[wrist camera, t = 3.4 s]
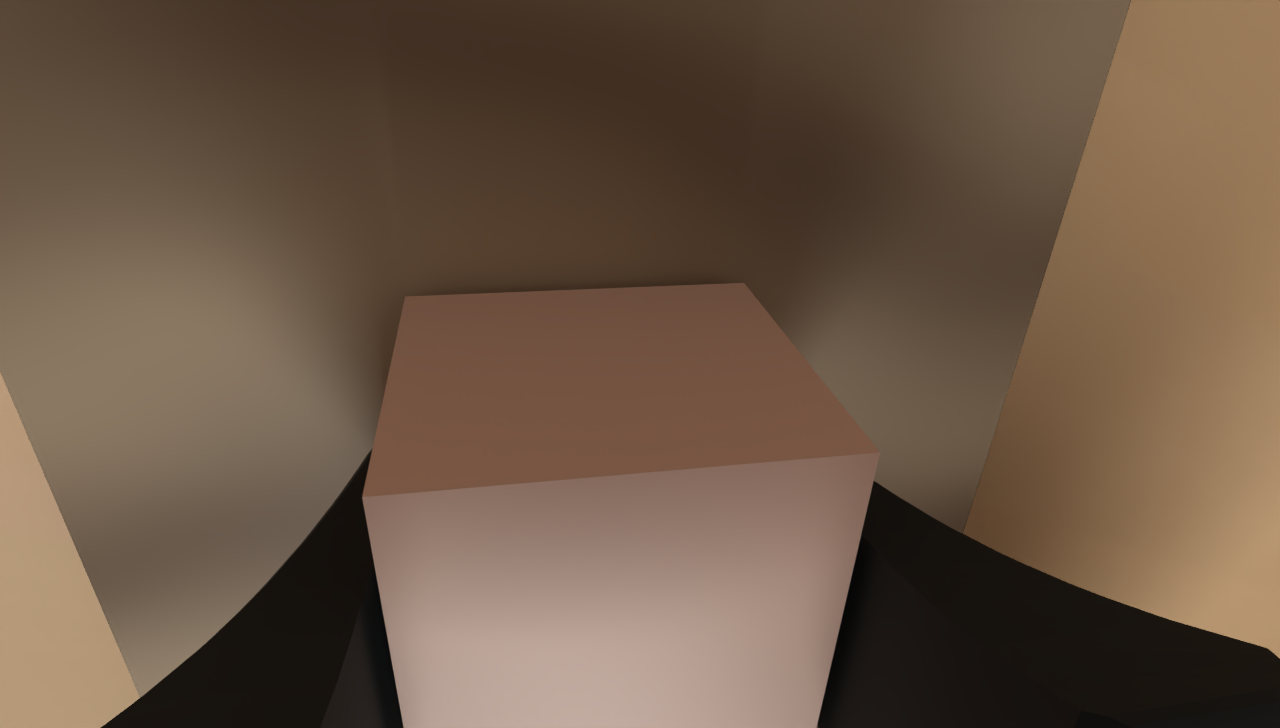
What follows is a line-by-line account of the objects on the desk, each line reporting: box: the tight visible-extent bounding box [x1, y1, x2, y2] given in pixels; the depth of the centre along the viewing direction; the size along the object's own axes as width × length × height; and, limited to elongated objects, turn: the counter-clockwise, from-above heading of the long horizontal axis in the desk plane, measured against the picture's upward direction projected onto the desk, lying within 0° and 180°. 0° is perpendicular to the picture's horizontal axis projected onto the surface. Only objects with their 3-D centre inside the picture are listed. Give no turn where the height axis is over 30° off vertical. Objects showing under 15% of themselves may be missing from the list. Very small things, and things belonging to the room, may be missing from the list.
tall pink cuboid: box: [362, 283, 880, 728], centre depth 11 cm, size 7×5×4 cm
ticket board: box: [0, 0, 1131, 728], centre depth 13 cm, size 22×16×3 cm
